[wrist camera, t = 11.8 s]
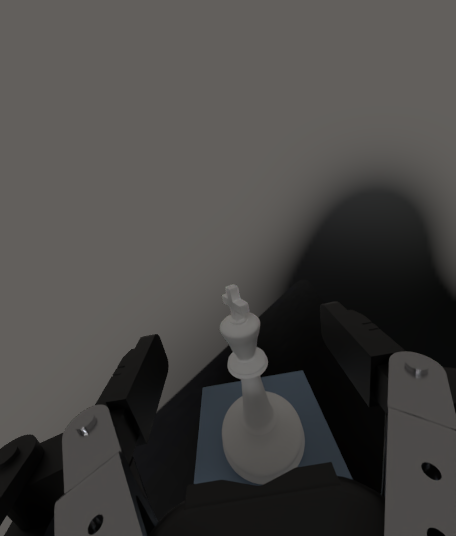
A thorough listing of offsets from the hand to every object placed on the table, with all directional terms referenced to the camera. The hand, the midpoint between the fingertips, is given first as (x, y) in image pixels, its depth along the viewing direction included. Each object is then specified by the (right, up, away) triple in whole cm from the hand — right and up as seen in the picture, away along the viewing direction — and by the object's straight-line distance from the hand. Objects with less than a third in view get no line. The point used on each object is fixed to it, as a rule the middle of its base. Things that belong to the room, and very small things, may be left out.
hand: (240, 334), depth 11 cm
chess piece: (+1, -7, +3) cm, 8 cm away
